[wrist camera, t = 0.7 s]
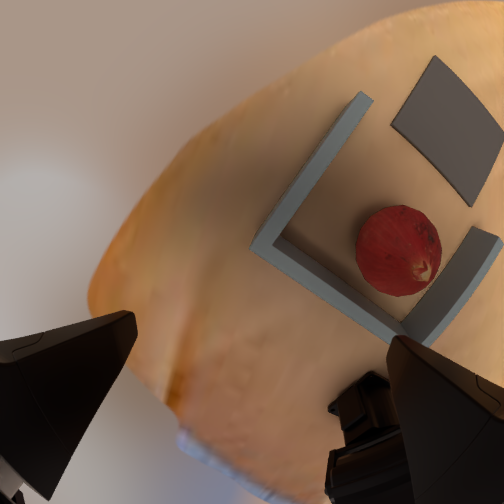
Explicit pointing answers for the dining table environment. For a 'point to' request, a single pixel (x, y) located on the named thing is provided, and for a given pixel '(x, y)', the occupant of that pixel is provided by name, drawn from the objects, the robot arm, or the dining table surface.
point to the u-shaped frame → (343, 295)
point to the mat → (451, 129)
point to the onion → (398, 251)
